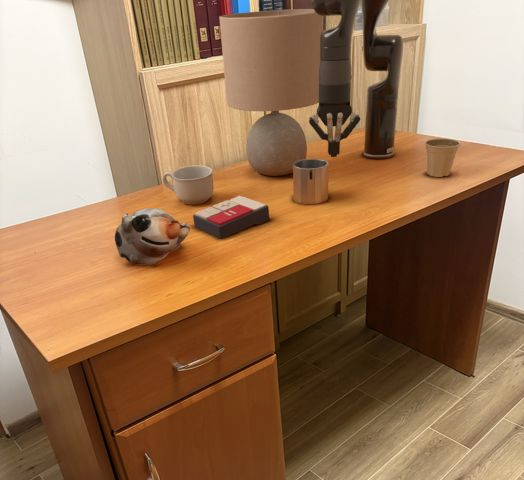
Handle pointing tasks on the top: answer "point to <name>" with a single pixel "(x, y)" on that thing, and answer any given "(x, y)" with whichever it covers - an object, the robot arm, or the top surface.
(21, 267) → the top surface
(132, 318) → the top surface
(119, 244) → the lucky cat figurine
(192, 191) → the teacup
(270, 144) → the lamp
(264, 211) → the flat box
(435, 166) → the flower pot
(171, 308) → the top surface
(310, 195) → the pot
